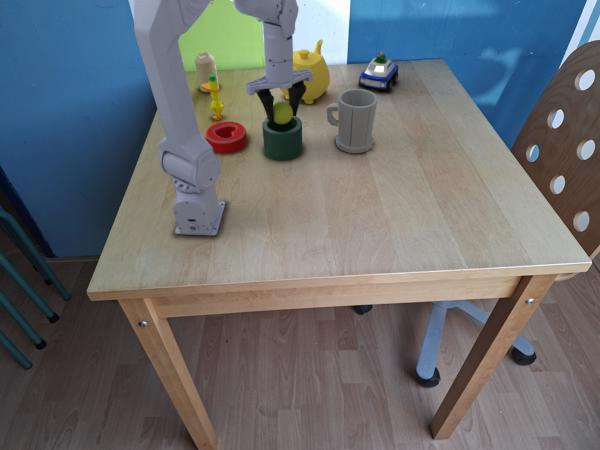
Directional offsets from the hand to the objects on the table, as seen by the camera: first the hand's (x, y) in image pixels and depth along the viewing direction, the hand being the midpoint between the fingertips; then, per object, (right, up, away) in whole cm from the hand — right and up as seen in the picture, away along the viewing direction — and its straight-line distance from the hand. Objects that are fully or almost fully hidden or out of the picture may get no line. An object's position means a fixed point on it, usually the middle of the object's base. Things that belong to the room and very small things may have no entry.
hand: (281, 117), depth 95 cm
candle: (-22, +16, +29) cm, 40 cm away
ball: (0, +1, -1) cm, 1 cm away
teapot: (+6, +13, +26) cm, 30 cm away
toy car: (+27, +17, +30) cm, 44 cm away
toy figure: (-18, +4, +17) cm, 25 cm away
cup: (+16, -5, +7) cm, 19 cm away
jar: (0, -6, +6) cm, 9 cm away
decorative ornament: (-14, -4, +9) cm, 17 cm away
